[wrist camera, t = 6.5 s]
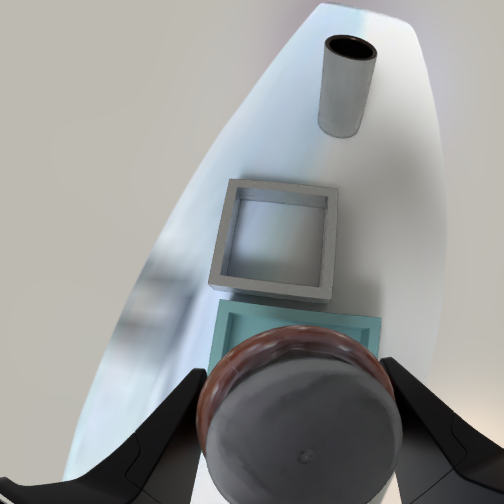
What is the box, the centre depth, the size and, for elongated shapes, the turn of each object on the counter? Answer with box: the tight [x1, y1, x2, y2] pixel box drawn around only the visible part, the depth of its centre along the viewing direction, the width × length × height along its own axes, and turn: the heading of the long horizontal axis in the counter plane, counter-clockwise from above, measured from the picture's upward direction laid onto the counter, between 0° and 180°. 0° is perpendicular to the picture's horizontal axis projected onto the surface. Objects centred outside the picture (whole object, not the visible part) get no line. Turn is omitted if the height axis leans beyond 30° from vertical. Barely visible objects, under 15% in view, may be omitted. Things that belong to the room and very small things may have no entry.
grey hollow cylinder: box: [318, 35, 377, 138], centre depth 24 cm, size 4×4×10 cm
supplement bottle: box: [196, 325, 403, 504], centre depth 10 cm, size 6×6×11 cm
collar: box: [208, 179, 338, 304], centre depth 24 cm, size 9×9×2 cm
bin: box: [201, 299, 381, 453], centre depth 19 cm, size 12×12×3 cm
